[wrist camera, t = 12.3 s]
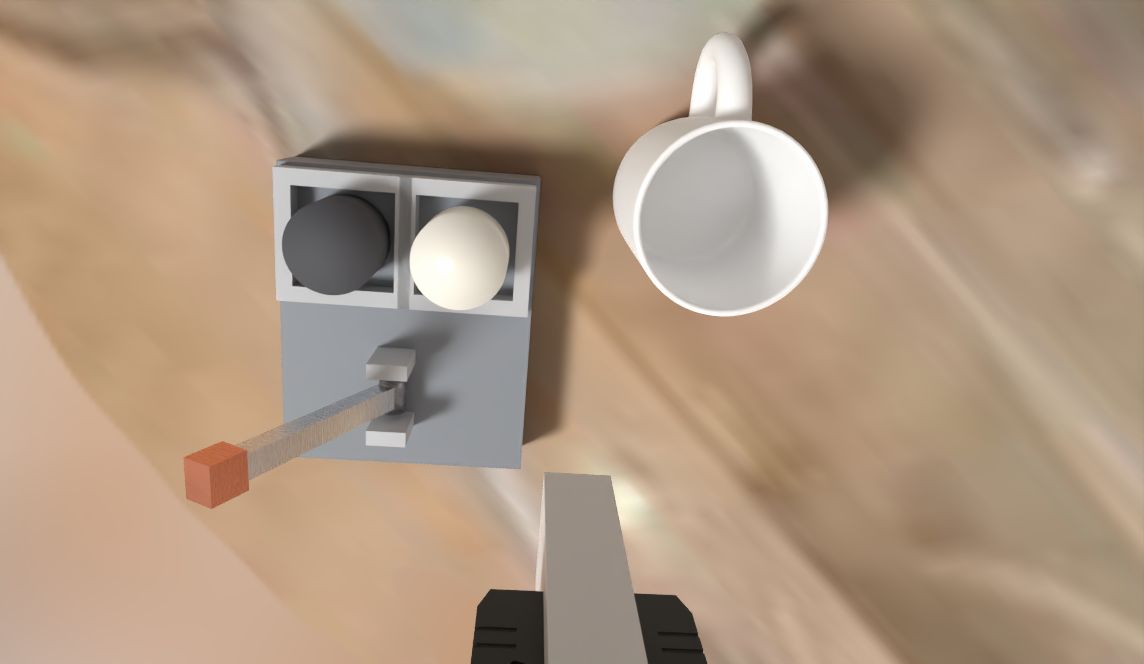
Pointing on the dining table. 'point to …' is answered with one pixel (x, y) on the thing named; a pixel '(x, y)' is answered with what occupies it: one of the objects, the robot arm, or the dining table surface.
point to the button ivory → (460, 258)
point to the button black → (336, 244)
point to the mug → (721, 197)
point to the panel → (411, 320)
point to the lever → (283, 443)
